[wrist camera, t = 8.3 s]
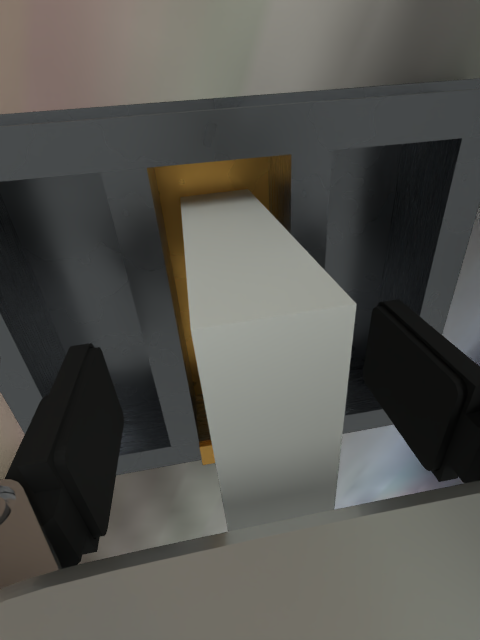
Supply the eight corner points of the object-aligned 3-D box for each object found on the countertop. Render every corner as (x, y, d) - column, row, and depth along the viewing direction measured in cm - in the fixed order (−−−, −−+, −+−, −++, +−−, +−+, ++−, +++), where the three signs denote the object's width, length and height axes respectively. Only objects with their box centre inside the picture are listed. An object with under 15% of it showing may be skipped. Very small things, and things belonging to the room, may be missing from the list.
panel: (247, 189, 13) (356, 304, 5) (259, 359, 17) (328, 560, 9) (180, 197, 13) (190, 329, 5) (208, 368, 17) (237, 582, 9)
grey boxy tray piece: (467, 79, 13) (578, 68, 10) (401, 367, 21) (450, 423, 17) (-110, 123, 11) (-247, 129, 7) (47, 426, 18) (16, 504, 15)
